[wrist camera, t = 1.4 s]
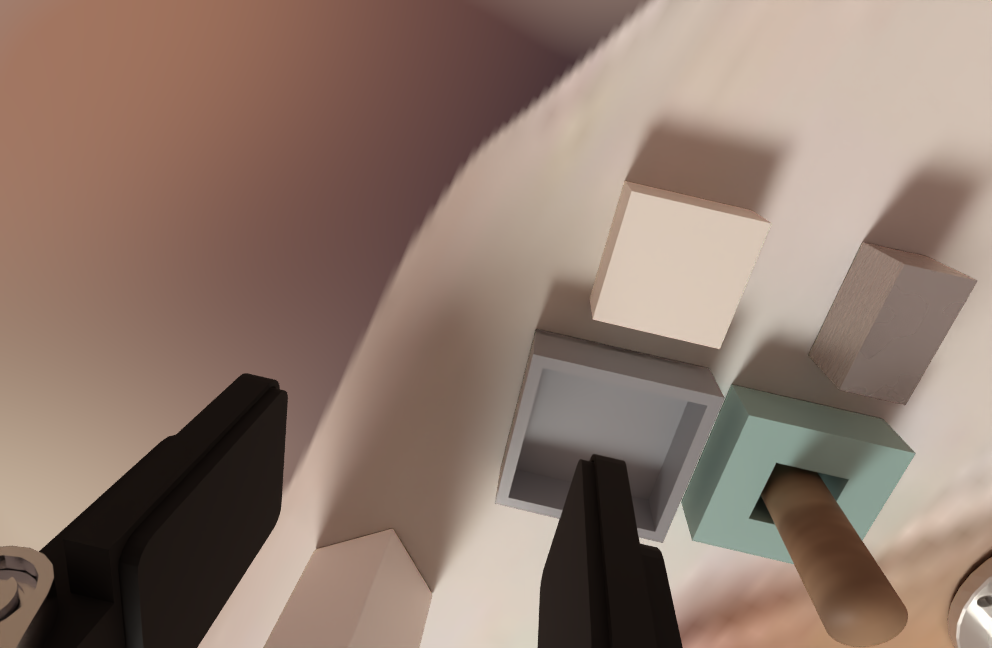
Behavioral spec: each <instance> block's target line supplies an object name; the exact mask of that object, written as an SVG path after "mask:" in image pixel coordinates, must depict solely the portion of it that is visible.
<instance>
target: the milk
mask: <svg viewBox="0 0 992 648" xmlns="http://www.w3.org/2000/svg"><path fill="white" fill-rule="evenodd" d="M431 599H432V593H431V591H430V589H429V588H428V586H427V584H426V583H425V581H424V579H423V578H422V576H421V574H420V573H419V571H418V569H417V568H416V566H415V564H414V563H413V561H412V559H411V558H410V556H409V554H408V553H407V551H406V549H405V548H404V546H403V544H402V543H401V541H400V539H399V538H398V536H397V534H396V533H395V531H394V529H389V530H385V531H382V532H378V533H374V534H371V535H367V536H363V537H360V538H356V539H352V540H349V541H345V542H341V543H337V544H334V545H330V546H326V547H323V548H319V549H316V550H315V551H314V552H313V554H312V556H311V558H310V560H309V562H308V564H307V565H306V567H305V569H304V571H303V573H302V575H301V577H300V579H299V581H298V583H297V584H296V586H295V588H294V590H293V592H292V594H291V596H290V598H289V600H288V602H287V604H286V605H285V607H284V609H283V611H282V613H281V615H280V617H279V619H278V621H277V623H276V625H275V626H274V628H273V630H272V632H271V634H270V636H269V638H268V640H267V642H266V644H265V645H264V647H263V648H419V647H420V643H421V639H422V635H423V631H424V627H425V623H426V619H427V615H428V611H429V607H430V603H431Z"/></svg>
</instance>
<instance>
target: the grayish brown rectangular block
mask: <svg viewBox="0 0 992 648" xmlns="http://www.w3.org/2000/svg"><path fill="white" fill-rule="evenodd" d="M976 283H977V280H975V279H973V278H971V277H969V276H967V275H965V274H963V273H961V272H959V271H956V270H954V269H952V268H950V267H948V266H946V265H944V264H942V263H940V262H938V261H936V260H934V259H931V258H929V257H927V256H923V255H919V254H914V253H910V252H905V251H901V250H896V249H892V248H888V247H883V246H879V245H874V244H870V243H865V242H862V244H861V246H860V248H859V251H858V253H857V255H856V257H855V259H854V261H853V263H852V265H851V267H850V269H849V271H848V274H847V276H846V278H845V280H844V282H843V284H842V286H841V288H840V290H839V292H838V294H837V297H836V299H835V301H834V303H833V305H832V307H831V309H830V311H829V313H828V315H827V317H826V320H825V322H824V324H823V326H822V328H821V330H820V332H819V334H818V336H817V338H816V340H815V343H814V345H813V347H812V349H811V351H810V353H809V355H808V356H809V357H810V358H811V359H812V360H813V361H814V362H815V363H816V365H817V366H818V367H819V368H820V369H821V370H822V371H823V372H824V373H825V375H826V376H827V377H828V378H829V379H830V380H831V381H832V382H833V383H834V385H835V386H836V387H837V388H838V389H839V390H842V391H846V392H851V393H855V394H859V395H864V396H868V397H873V398H877V399H881V400H886V401H890V402H895V403H899V404H903V405H906V403H907V401H908V400H909V398H910V396H911V395H912V393H913V391H914V389H915V388H916V386H917V384H918V383H919V381H920V379H921V377H922V376H923V374H924V372H925V370H926V369H927V367H928V365H929V364H930V362H931V360H932V358H933V357H934V355H935V353H936V352H937V350H938V348H939V346H940V345H941V343H942V341H943V339H944V338H945V336H946V334H947V333H948V331H949V329H950V327H951V326H952V324H953V322H954V320H955V319H956V317H957V315H958V314H959V312H960V310H961V308H962V307H963V305H964V303H965V302H966V300H967V298H968V296H969V295H970V293H971V291H972V289H973V288H974V286H975V284H976Z"/></svg>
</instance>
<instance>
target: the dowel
mask: <svg viewBox="0 0 992 648" xmlns="http://www.w3.org/2000/svg"><path fill="white" fill-rule="evenodd" d="M761 497H762V499H763V501H764V503H765V505H766V507H767V509H768V511H769V513H770V515H771V517H772V519H773V521H774V523H775V526H776V528H777V530H778V532H779V534H780V536H781V538H782V540H783V542H784V544H785V546H786V548H787V550H788V553H789V555H790V557H791V559H792V561H793V563H794V565H795V567H796V569H797V571H798V573H799V575H800V577H801V579H802V582H803V584H804V586H805V588H806V590H807V592H808V594H809V596H810V598H811V600H812V602H813V604H814V606H815V608H816V611H817V613H818V615H819V617H820V619H821V621H822V623H823V625H824V627H825V629H826V631H827V633H828V634H829V635H830V636H831V637H832V638H833V639H834V640H836V641H837V642H839V643H842V644H844V645H848V646H853V647H870V646H875V645H879V644H882V643H885V642H887V641H889V640H891V639H893V638H894V637H896V636H897V635H898V634H899V633H900V632H901V631H902V630H903V629H904V627H905V626H906V623H907V620H908V612H907V609H906V607H905V605H904V604H903V602H902V601H901V599H900V598H899V596H898V595H897V593H896V592H895V590H894V589H893V587H892V586H891V584H890V582H889V581H888V579H887V578H886V576H885V575H884V573H883V572H882V570H881V569H880V567H879V566H878V564H877V563H876V561H875V560H874V558H873V557H872V555H871V553H870V552H869V550H868V549H867V547H866V546H865V544H864V543H863V541H862V540H861V538H860V537H859V535H858V534H857V532H856V531H855V529H854V528H853V526H852V524H851V523H850V521H849V520H848V518H847V517H846V515H845V514H844V512H843V511H842V509H841V508H840V506H839V505H838V503H837V502H836V500H835V499H834V497H833V495H832V494H831V492H830V491H829V489H828V488H827V486H826V485H825V483H824V482H823V480H822V479H821V477H820V476H819V474H818V473H817V472H814V471H810V470H806V469H801V468H797V467H793V466H788V465H784V464H780V463H776V464H775V466H774V468H773V470H772V472H771V474H770V477H769V479H768V481H767V483H766V485H765V487H764V489H763V491H762V493H761Z"/></svg>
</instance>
